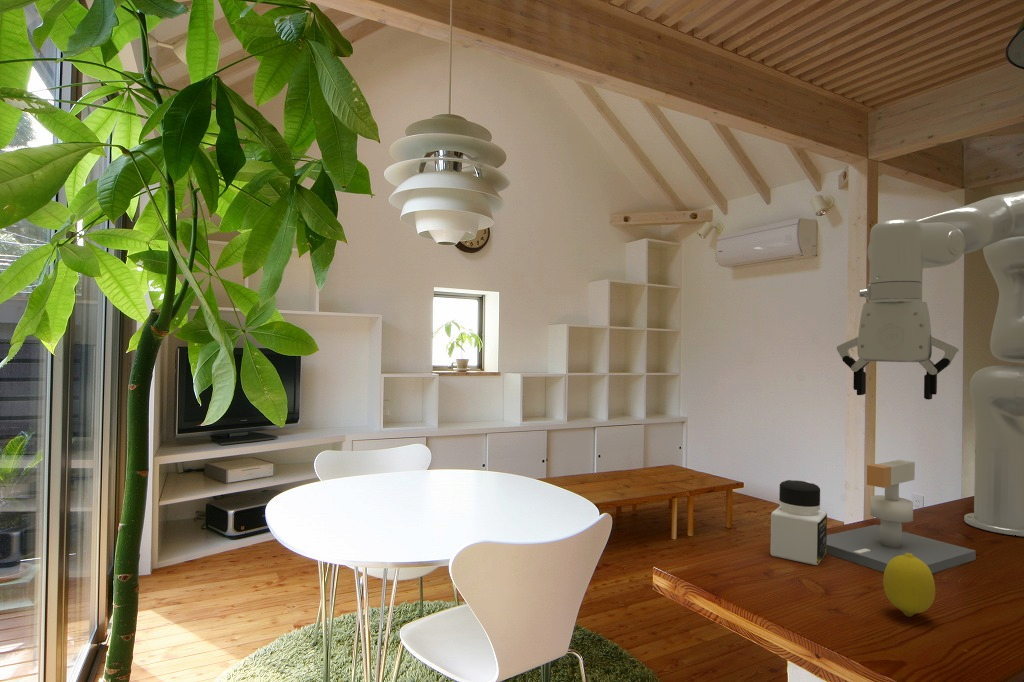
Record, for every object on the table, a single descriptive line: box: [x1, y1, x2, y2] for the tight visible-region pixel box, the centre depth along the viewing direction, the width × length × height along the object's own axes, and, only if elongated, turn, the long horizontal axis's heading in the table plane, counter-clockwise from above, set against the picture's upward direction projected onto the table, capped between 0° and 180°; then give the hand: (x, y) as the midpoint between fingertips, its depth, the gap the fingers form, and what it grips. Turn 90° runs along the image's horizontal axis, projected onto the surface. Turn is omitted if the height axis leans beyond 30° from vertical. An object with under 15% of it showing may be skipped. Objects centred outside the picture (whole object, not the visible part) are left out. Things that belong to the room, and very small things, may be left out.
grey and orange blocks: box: [866, 459, 916, 523], centre depth 100 cm, size 11×6×9 cm, turn 125°
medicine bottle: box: [770, 479, 828, 566], centre depth 99 cm, size 7×7×12 cm
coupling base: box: [826, 519, 977, 574], centre depth 100 cm, size 20×16×6 cm
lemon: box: [882, 553, 936, 617], centre depth 76 cm, size 6×6×8 cm
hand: (893, 396), depth 101 cm, fingers open, 9 cm apart
